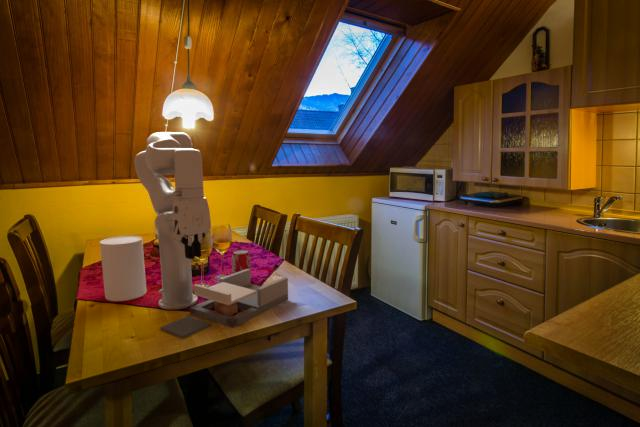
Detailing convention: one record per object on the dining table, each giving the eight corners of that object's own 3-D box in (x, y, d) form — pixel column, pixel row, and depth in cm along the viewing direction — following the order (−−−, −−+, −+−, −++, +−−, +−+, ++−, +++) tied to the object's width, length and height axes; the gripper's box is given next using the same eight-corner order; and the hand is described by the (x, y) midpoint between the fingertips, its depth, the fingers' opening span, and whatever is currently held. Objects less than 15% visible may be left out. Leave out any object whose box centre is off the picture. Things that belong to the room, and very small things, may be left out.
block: (215, 314, 131) (214, 296, 130) (226, 309, 135) (226, 291, 134) (226, 317, 128) (225, 299, 127) (237, 312, 132) (237, 294, 131)
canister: (120, 303, 140) (114, 246, 136) (97, 296, 147) (91, 241, 143) (154, 291, 151) (150, 238, 148) (131, 285, 158) (127, 234, 155)
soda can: (247, 285, 158) (246, 254, 156) (229, 283, 159) (228, 253, 157) (253, 279, 164) (252, 249, 162) (236, 278, 166) (235, 249, 164)
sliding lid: (194, 294, 130) (193, 285, 129) (222, 284, 140) (222, 275, 139) (228, 305, 121) (228, 294, 121) (256, 293, 131) (256, 283, 130)
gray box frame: (190, 313, 131) (188, 289, 130) (247, 289, 153) (247, 268, 151) (232, 327, 121) (231, 301, 120) (288, 300, 142) (287, 277, 141)
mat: (160, 329, 120) (160, 327, 120) (188, 317, 128) (188, 315, 128) (182, 338, 114) (182, 336, 114) (210, 325, 122) (210, 323, 122)
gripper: (174, 197, 107) (178, 266, 110) (220, 191, 120) (223, 253, 123) (156, 195, 111) (161, 261, 114) (203, 190, 124) (206, 249, 127)
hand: (193, 257), depth 119 cm, fingers closed
